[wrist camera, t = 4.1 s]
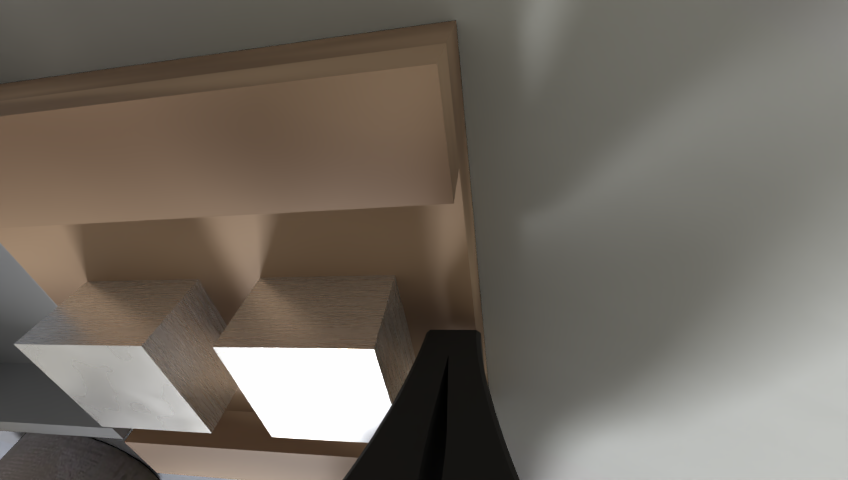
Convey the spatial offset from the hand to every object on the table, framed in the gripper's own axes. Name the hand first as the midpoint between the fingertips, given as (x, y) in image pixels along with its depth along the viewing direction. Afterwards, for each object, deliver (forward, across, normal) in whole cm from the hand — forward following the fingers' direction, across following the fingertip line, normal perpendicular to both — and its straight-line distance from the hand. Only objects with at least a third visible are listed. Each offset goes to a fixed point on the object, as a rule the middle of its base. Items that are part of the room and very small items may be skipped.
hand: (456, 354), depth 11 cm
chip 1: (+1, +10, 0) cm, 10 cm away
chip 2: (+1, +4, 0) cm, 4 cm away
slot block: (+3, +6, 0) cm, 7 cm away
